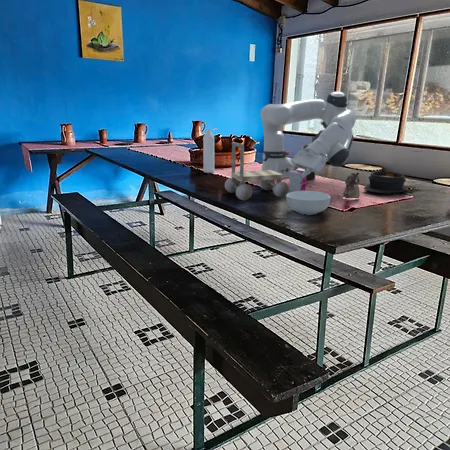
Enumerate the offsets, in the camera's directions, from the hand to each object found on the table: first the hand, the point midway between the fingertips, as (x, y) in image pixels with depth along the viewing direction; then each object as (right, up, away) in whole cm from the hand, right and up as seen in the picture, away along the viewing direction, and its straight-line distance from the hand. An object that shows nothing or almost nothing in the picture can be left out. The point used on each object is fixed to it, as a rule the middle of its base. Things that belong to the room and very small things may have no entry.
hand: (296, 175), depth 184 cm
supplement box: (+1, -9, +3) cm, 10 cm away
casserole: (+45, -7, +13) cm, 48 cm away
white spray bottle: (-41, +9, +58) cm, 72 cm away
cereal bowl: (0, -18, -23) cm, 29 cm away
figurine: (+24, -11, -1) cm, 27 cm away
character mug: (+14, +2, +40) cm, 42 cm away
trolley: (-18, -9, +4) cm, 20 cm away
